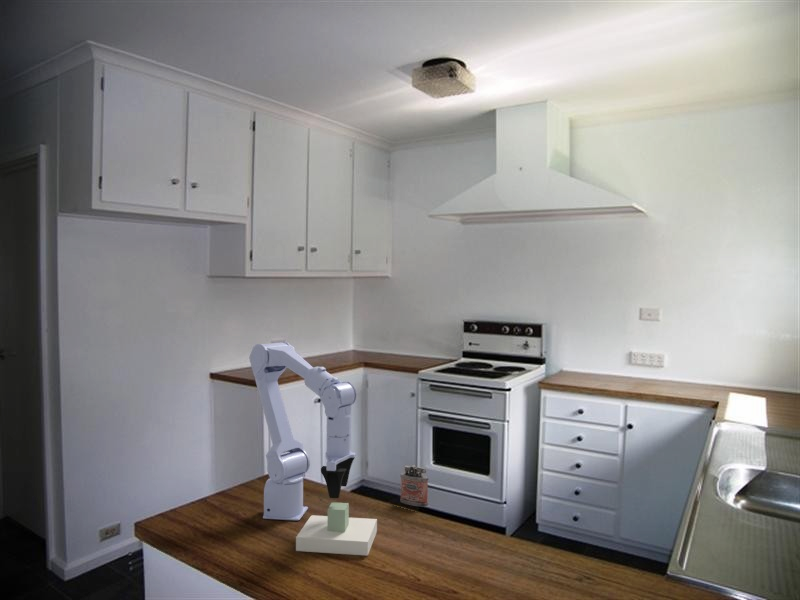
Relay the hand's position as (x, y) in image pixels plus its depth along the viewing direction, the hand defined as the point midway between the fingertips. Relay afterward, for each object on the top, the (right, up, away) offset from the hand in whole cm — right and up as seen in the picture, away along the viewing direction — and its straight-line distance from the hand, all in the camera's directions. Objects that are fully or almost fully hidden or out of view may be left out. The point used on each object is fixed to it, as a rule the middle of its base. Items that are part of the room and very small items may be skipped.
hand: (338, 491), depth 131 cm
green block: (+1, -7, -4) cm, 8 cm away
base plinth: (0, -10, -4) cm, 11 cm away
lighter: (+18, -10, +19) cm, 28 cm away
